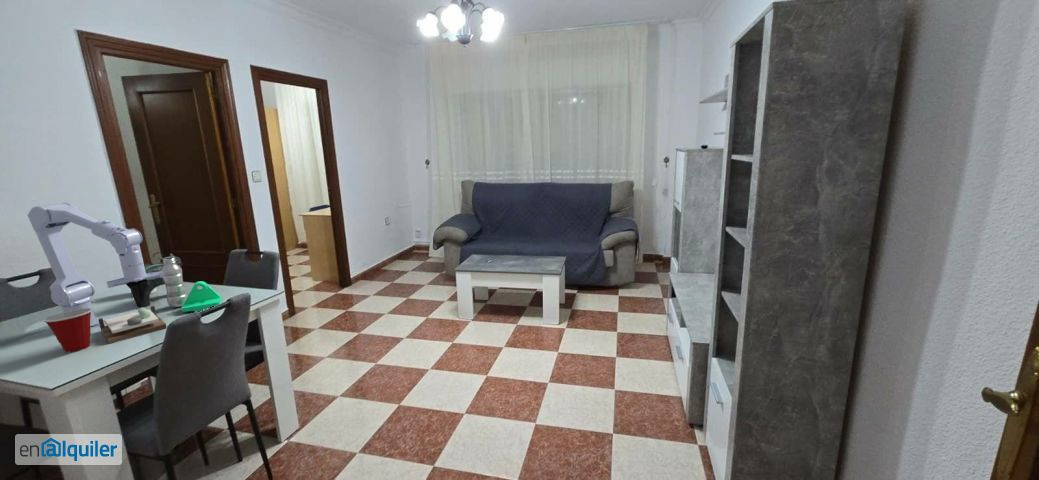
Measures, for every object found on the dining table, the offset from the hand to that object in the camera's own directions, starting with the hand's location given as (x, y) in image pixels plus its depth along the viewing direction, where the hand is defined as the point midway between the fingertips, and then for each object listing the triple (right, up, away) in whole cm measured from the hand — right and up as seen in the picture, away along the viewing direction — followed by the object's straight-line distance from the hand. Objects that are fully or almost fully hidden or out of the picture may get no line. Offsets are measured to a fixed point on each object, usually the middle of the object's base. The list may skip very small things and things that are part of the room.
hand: (141, 301), depth 148 cm
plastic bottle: (-3, -5, +21) cm, 21 cm away
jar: (-31, -2, +37) cm, 48 cm away
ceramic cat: (-16, -4, +28) cm, 33 cm away
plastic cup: (-8, -13, -13) cm, 21 cm away
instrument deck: (-2, -7, -1) cm, 7 cm away
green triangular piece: (+8, -6, +18) cm, 21 cm away
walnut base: (-2, -10, 0) cm, 10 cm away
